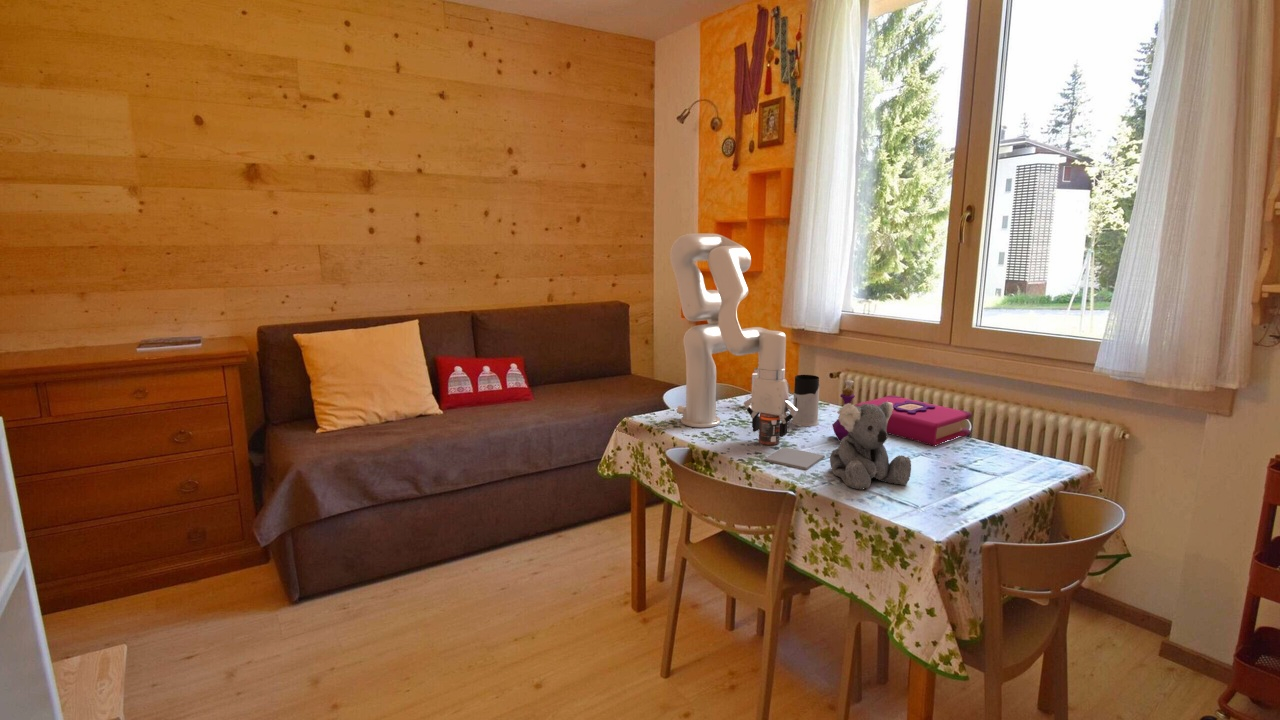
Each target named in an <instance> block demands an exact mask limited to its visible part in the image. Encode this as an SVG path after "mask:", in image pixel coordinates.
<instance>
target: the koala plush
mask: <svg viewBox="0 0 1280 720" xmlns="http://www.w3.org/2000/svg"><path fill="white" fill-rule="evenodd" d="M893 409H894V408H893V403H890V402H888V401H887V402H883V403H882V404H881V405H879V406H876V405H873V404H869V405H868V404H863V405H860V406H856V405H855V404H853V403H852V402H851V403H850V404H849V403H848V404H846V405H844V404H843V405H842V407H839V409H838V411H837V412H836V413H837V414H838V417H837V420H839V422H841V423H840V425H843V426H844V427H845V429H846V430H847V431H848V433H849V434H848V435H847V436H846V437H844V438H843V439H842V440H841V441H840V443H839V445H838V448H835V449H833V450H832V451H831V454H830V456H829V463H830V464H829V465H830V469H831V472H832V473H833V476H836V477H839V478H841V481H842V482H843V483H844V484H845V486H848V487H850V488H852V489H855V488H856V489H855V490H858V489H859V490H864V489H863V488H866V489H868V488H869V487H871V484H872V483H871V482H872V479H875V478H876V479H875V480H877V479H878V480H879V481H880V480H882V481H881V482H884V481H886V482H885V483H887V482H888V484H893V483H894V485H896V484H901V485H902V486H904V485H907V484H908V482H909V481H910V478H911V473H912V460H911V459H910V457H909V456H905V455H897V456H895V457H894V458H893V459H892V460H891V461H890V460H889V455H888V451H887V449H886V447H885V445H884V444H885V442H886V441H887V439H888V433H887V432H886V431H887V430H886V429H887V424H888V420H889V418H890V416H891V414H892V411H893ZM889 461H890V462H889ZM873 477H874V478H873ZM901 485H900V486H901ZM860 488H861V489H860Z"/></svg>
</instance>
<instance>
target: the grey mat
mask: <svg viewBox="0 0 1280 720" xmlns="http://www.w3.org/2000/svg"><path fill="white" fill-rule="evenodd" d="M824 458H826V456H825V454H820V453H815V452H811V451H805V450H801V449H795V448H792V447H791V448H790V447H786V446H784V447H782V448H779V449H778V450H777V451H775V452H774V453H772V454H770V455H768V456H767V457H765V458H764V461H765V462H769V463H775V464H778V465H783V466H788V467H791V468H792V467H793V468H797V469H801V470H807V471H808V470H809V469H811V468H812V467H814V466H815V465H817V463H819V462H821V461H822V460H823V459H824Z"/></svg>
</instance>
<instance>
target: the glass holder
mask: <svg viewBox="0 0 1280 720" xmlns="http://www.w3.org/2000/svg"><path fill="white" fill-rule="evenodd" d="M787 385H788V393H789V395H793V403H792V405H793V406H794V407H795V408H796V409H797V410H798V412H797V414H796V415H795V416H794V417H793V418H792V419H791V420H790V421H791V422H790V423H791V424H792V425H795V426H799V427H806V428H808V427H809V428H810V427H817V426H818V425H820V422H819V401H820V398H819V397H820V377H819V376H817V375H813V374H798V375H795V376H794V389H793V390H794V391H793V392H791V386H790V385H789V383H788V382H787ZM788 412H789V414H790V413H791V411H790V410H789V409H788Z"/></svg>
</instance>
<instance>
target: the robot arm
mask: <svg viewBox="0 0 1280 720" xmlns="http://www.w3.org/2000/svg"><path fill="white" fill-rule="evenodd" d="M669 259H670V265H671V268H672V270H673V274H674V276H675V280H676V284H677V291H678V295H679V301H680V306H681V311H682V314H683V316H684V318H685V319H686V320H687V321H690V322H701V321H702V322H703V321H707V323H706V324H699V325H698V324H697V325H695V326H692V327H690V328H689V329H687V330H686V331H685V333H684V336H683V348H684V353H685V354H684V355H685V365H686V366H685V367H686V368H685V369H686V371H685V372H686V373H685V374H686V381H685V382H686V386H685V388H686V389H685V390H686V392H685V396H686V397H685V399H686V400H685V402H686V403H685V404H686V405H685V406H682V405H678V406H677V409H676V413H677V414H682V417H681V419H680V421H681V424H683V425H684V426H688V427H692V428H712V427H716V426H719V425H720V424H721V418H720V417H719V416H717V411H716V409H717V367H716V363H715V360H714V358H713V354H720V353H723V352H727V351H728V352H729V353H731V355H734V356H747V355H749V354H757V353H758V362H757V365H758V366H757V367H755V368H754V370H753V373H758V374H757V376H758V377H756V378H755V381H754V385H753V390H752V389H751V397H752V398H749V399H746V400H745V401H744V402H743V405H744V407H745V409H746V410H747V413H748V414H749V415H750V418H751V419H752V420H751V428H752V432H753V433H755V432H757V431H759V418H760V413H764V414H770V415H777V416H779V418H780V433H779V436H780V438H783V437H784V436H786V435H787V434H788V428H789V427H788V425H789V422H790V421H792V419H793V417H794V416H795V415H796V414H797V412H798V410H797V409H796V408H795V407H794V406H793V403H791V402H790V401H789V400H790V398H789V397H790V396H789V395H790V393H789V391H788V385H787V383H788V380H787V379H786V352H787V350H786V349H787V335H786V334H785V332H783V331H780V330H769V329H767V328H764V327H761V326H752V327H745V328H741V325H740V322H739V320H738V313H737V311H738V308H739V304H740V303H741V302H742V300H744V299H745V298H746V297H747V296H748V295H749V287H748V285H747V283H746V280H745V278H744V275H743V273H746V272H747V271H748V270H749V269H750V267H751V264H752V258H751V254H750V252H749V251H748V249H747V248H746V247H744V245H741V244H740V243H737V242H735V241H734V240H732V239H730V238H729V237H726V236H724V235H721V234H720V233H719V234H718V233H709V232H708V233H698V232H697V233H696V232H695V233H694V232H693V233H686V234H683V235H680V236H678V237H677V238H676V239H675V240H674V242H673V243H672V245H671V248H670V253H669ZM706 261H707V264H708V267H709V271H710V273H711V276H712V278H713V283H714V285H715V287H716V289H706V285H705V279H704V276H703V274H702V272H701V269H700V268H699V267H698V266H697V265H696V262H706ZM788 410H789V411H791V413H790V412H789V411H788ZM788 412H789V414H788Z"/></svg>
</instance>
